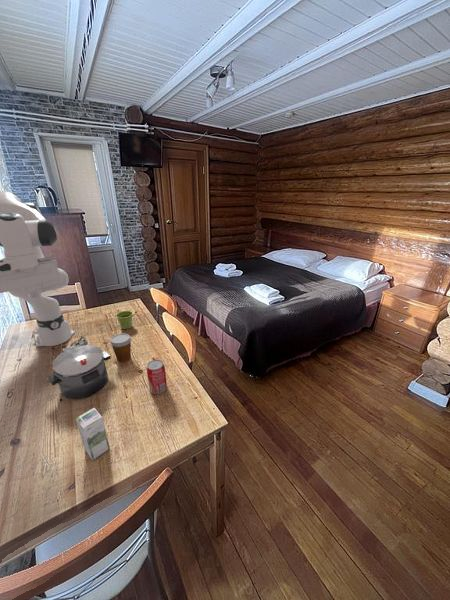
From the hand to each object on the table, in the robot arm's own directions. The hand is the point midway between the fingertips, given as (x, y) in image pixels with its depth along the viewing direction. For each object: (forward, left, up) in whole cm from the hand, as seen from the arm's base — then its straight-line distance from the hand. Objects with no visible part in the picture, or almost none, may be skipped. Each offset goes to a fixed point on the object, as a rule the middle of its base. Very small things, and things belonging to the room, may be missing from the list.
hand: (34, 296), depth 97 cm
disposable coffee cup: (+8, +26, -39) cm, 48 cm away
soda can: (+38, +25, -39) cm, 60 cm away
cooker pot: (+12, +6, -39) cm, 41 cm away
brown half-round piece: (-6, +12, -39) cm, 42 cm away
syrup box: (+46, -4, -39) cm, 61 cm away
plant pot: (-20, +43, -39) cm, 62 cm away
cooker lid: (+11, +6, -28) cm, 30 cm away
